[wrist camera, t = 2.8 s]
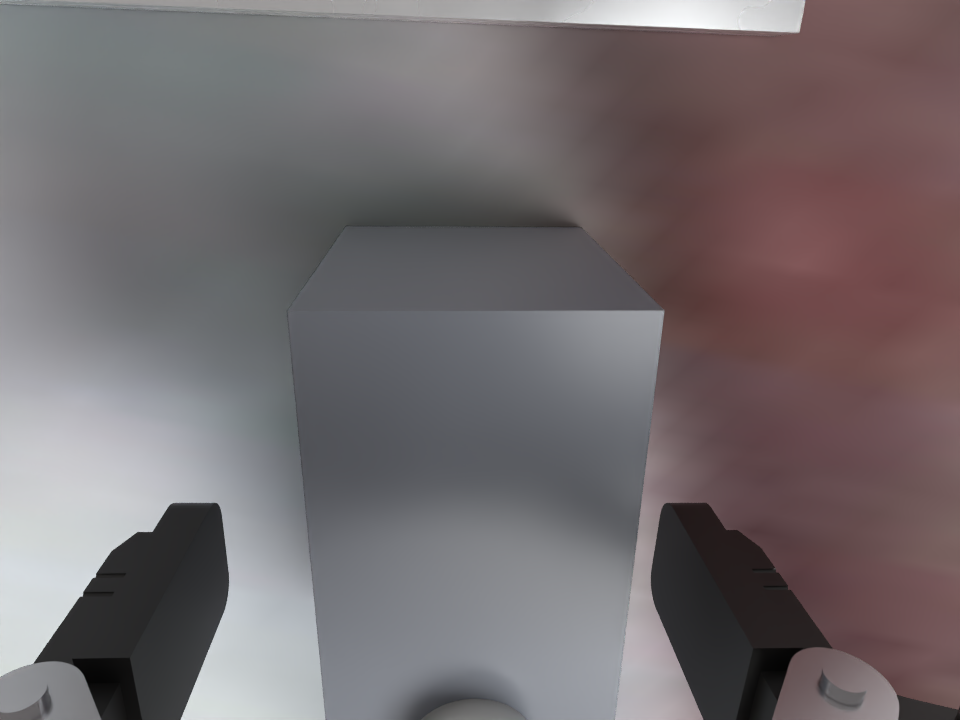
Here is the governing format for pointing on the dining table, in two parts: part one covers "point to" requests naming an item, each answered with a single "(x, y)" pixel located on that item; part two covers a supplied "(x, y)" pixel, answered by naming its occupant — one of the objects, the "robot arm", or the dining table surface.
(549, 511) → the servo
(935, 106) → the dining table surface
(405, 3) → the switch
